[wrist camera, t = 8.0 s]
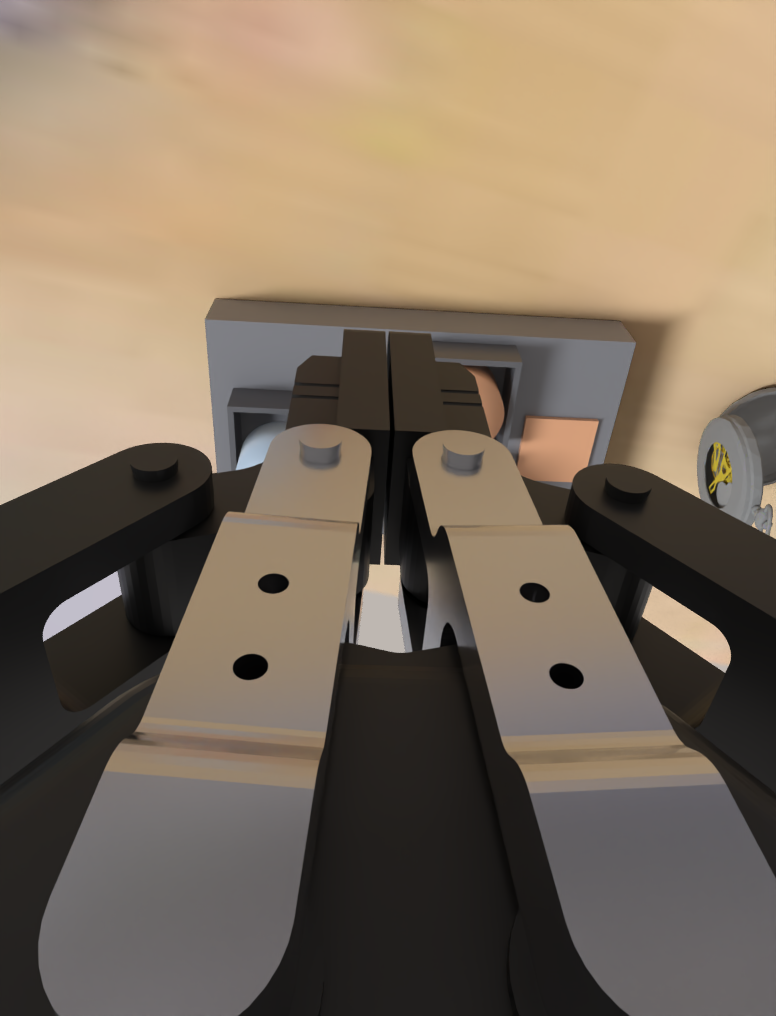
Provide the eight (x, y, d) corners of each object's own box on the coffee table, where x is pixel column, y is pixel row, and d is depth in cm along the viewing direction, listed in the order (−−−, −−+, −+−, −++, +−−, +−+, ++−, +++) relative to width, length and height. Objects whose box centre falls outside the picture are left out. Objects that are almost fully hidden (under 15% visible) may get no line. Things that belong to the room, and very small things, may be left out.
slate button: (325, 423, 38) (323, 447, 36) (324, 494, 41) (322, 520, 39) (239, 419, 38) (231, 443, 36) (243, 491, 40) (236, 517, 38)
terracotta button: (503, 358, 38) (510, 378, 36) (491, 433, 41) (497, 455, 39) (418, 353, 38) (421, 373, 36) (411, 429, 41) (413, 451, 39)
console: (620, 320, 41) (648, 359, 37) (571, 513, 48) (590, 563, 44) (215, 298, 40) (196, 335, 35) (229, 499, 47) (215, 549, 43)
